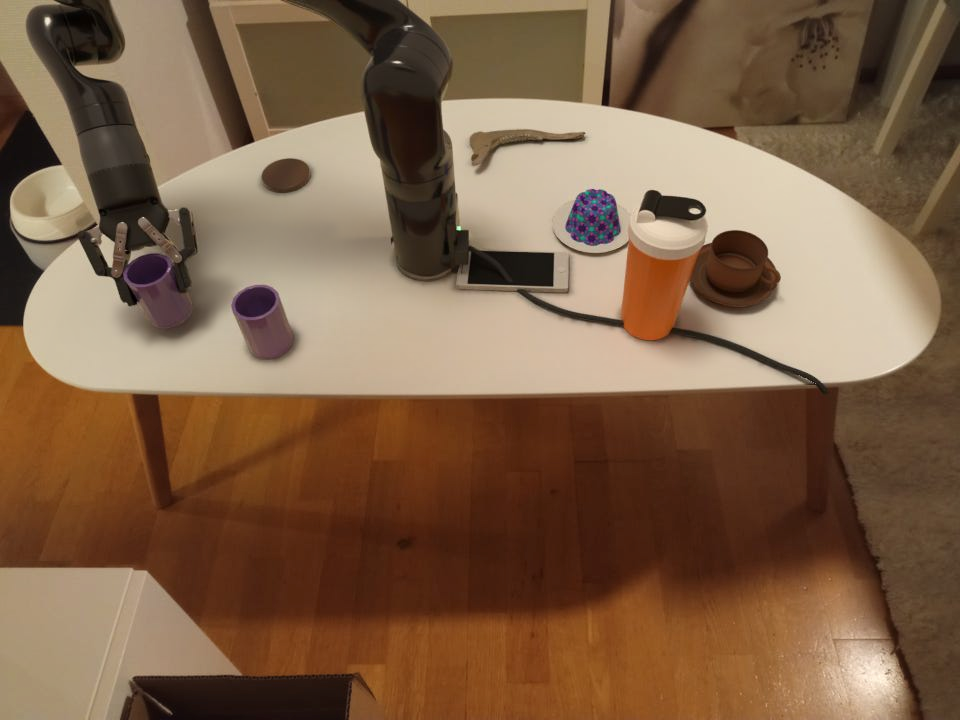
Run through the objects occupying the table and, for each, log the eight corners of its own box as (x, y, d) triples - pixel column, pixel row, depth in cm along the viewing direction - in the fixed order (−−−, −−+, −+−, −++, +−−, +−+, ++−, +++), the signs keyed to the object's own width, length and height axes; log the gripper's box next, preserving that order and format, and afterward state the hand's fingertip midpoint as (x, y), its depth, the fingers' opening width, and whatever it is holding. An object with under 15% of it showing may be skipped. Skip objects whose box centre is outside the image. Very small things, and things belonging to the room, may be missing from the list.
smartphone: (567, 293, 105) (568, 288, 104) (456, 289, 106) (455, 284, 105) (568, 256, 109) (568, 251, 108) (461, 252, 110) (460, 248, 109)
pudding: (535, 227, 113) (536, 199, 109) (590, 190, 118) (593, 162, 113) (595, 269, 107) (598, 242, 103) (650, 228, 112) (656, 200, 108)
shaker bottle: (679, 350, 98) (712, 236, 82) (610, 341, 99) (629, 226, 83) (682, 300, 103) (713, 183, 87) (616, 291, 105) (635, 175, 89)
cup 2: (297, 325, 103) (283, 284, 96) (289, 359, 99) (274, 319, 93) (253, 325, 103) (237, 284, 97) (244, 359, 99) (226, 319, 93)
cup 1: (197, 294, 104) (176, 252, 97) (186, 328, 100) (163, 286, 94) (155, 295, 104) (131, 253, 98) (142, 328, 100) (117, 287, 94)
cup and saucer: (775, 258, 107) (788, 225, 103) (772, 321, 100) (785, 289, 96) (689, 244, 110) (698, 212, 105) (680, 305, 103) (688, 273, 98)
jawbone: (452, 146, 126) (451, 135, 125) (561, 114, 131) (561, 103, 130) (474, 174, 120) (473, 163, 119) (587, 139, 125) (588, 128, 124)
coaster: (313, 161, 124) (312, 157, 123) (306, 192, 119) (305, 188, 119) (267, 162, 124) (266, 158, 124) (258, 193, 120) (257, 189, 119)
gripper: (48, 178, 90) (92, 314, 93) (170, 151, 93) (211, 285, 95) (69, 186, 98) (110, 312, 100) (182, 160, 100) (220, 285, 102)
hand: (159, 298), depth 98 cm, fingers closed on cup 1, 6 cm apart
